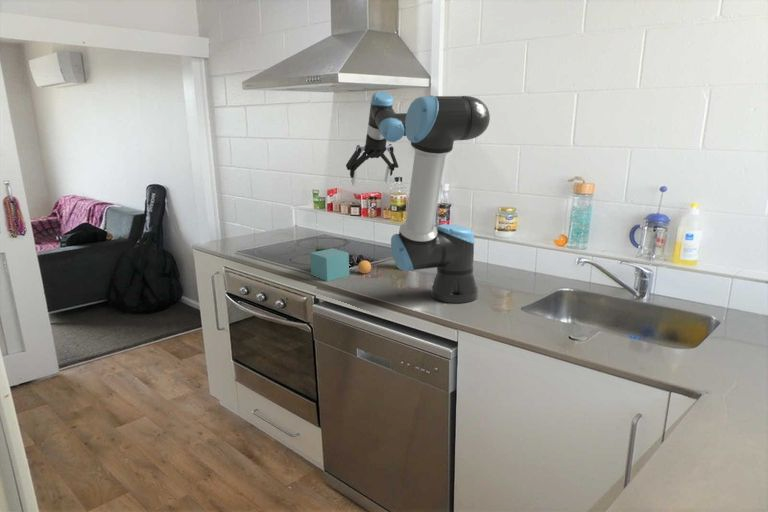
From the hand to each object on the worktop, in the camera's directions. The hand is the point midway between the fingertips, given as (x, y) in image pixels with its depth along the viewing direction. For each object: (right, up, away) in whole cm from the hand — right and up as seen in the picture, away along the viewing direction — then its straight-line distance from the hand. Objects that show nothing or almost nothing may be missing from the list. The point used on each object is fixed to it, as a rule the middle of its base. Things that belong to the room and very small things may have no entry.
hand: (369, 182), depth 203 cm
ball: (-2, -33, -6) cm, 33 cm away
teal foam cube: (-15, -36, -7) cm, 39 cm away
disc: (-10, -33, +3) cm, 35 cm away
